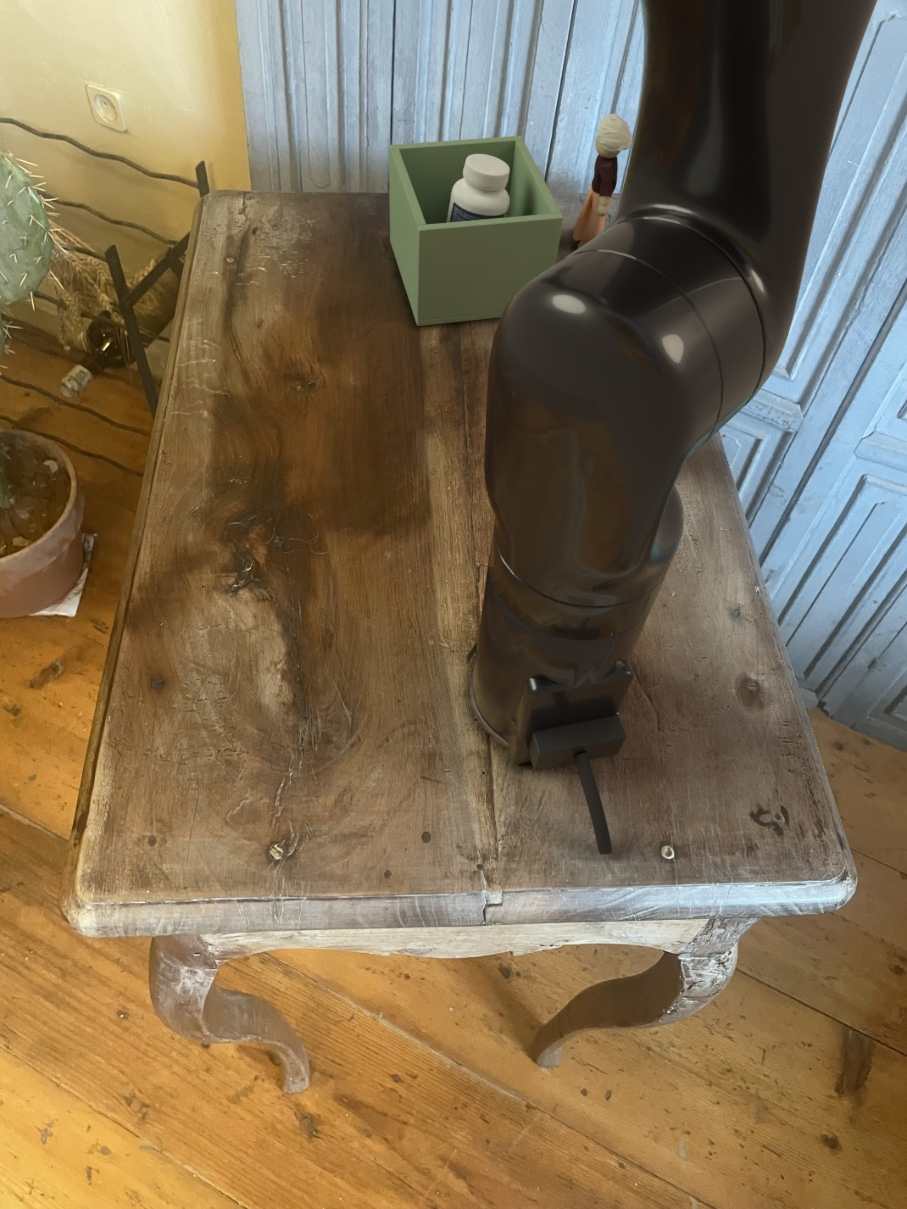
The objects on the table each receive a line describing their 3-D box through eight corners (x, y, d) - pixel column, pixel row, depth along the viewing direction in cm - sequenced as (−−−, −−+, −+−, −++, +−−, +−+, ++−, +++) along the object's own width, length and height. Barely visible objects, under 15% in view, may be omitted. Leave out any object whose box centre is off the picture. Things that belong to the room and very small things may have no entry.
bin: (548, 312, 82) (563, 217, 74) (417, 326, 80) (418, 230, 72) (510, 229, 89) (521, 135, 81) (389, 240, 87) (388, 144, 79)
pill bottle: (500, 282, 83) (526, 180, 75) (447, 281, 81) (468, 177, 74) (483, 252, 86) (506, 151, 78) (431, 250, 84) (451, 147, 77)
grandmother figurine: (566, 223, 90) (587, 96, 80) (602, 223, 90) (628, 96, 80) (576, 268, 86) (600, 139, 75) (614, 268, 86) (644, 140, 76)
